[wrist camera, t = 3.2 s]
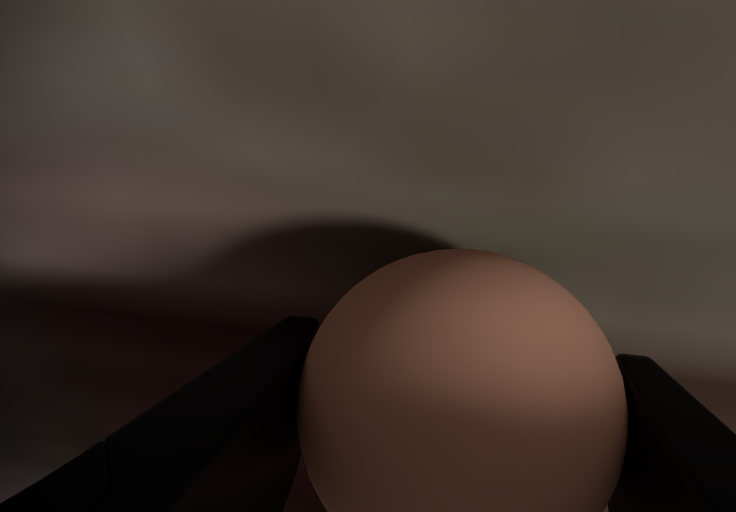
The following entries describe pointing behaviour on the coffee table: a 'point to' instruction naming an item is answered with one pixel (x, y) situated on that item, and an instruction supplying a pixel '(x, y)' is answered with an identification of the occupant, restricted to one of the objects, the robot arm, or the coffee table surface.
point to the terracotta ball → (461, 393)
